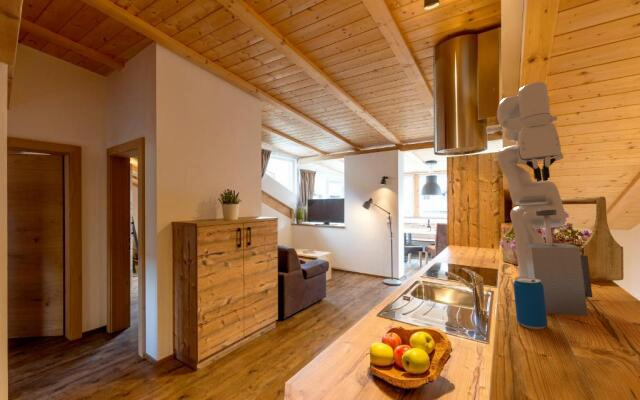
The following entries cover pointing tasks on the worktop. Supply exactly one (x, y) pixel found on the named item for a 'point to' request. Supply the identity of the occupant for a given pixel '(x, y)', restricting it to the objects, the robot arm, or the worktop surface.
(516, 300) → the beverage can
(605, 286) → the worktop surface
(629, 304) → the worktop surface
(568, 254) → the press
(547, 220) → the plunger
